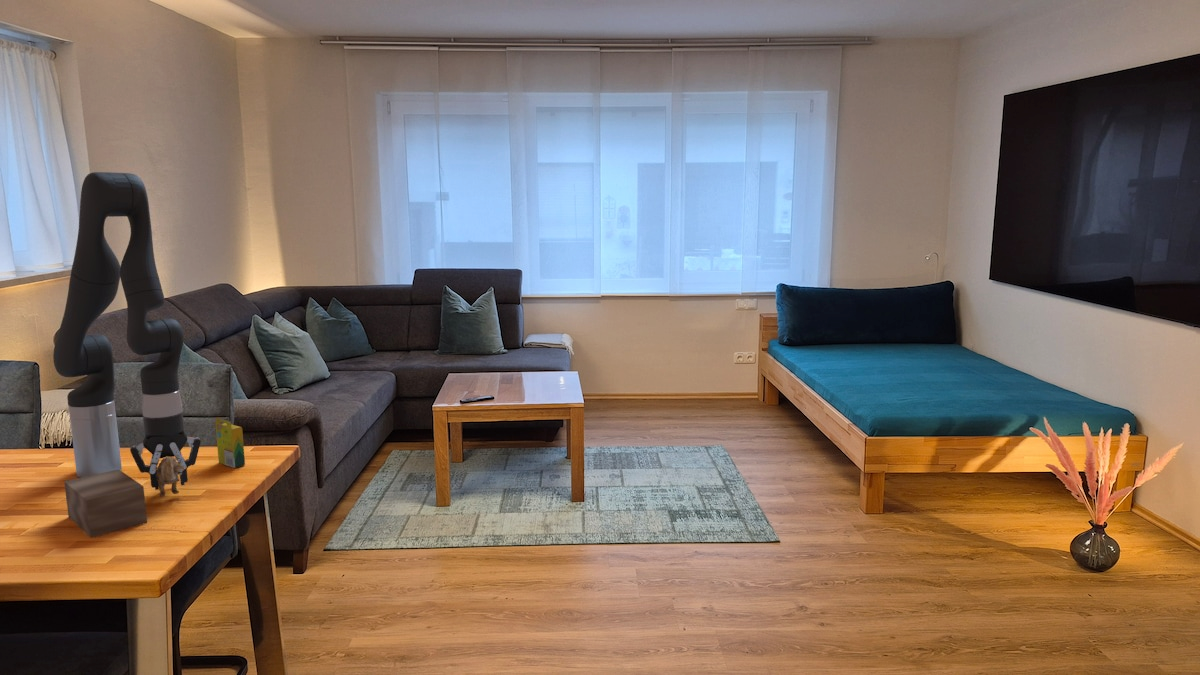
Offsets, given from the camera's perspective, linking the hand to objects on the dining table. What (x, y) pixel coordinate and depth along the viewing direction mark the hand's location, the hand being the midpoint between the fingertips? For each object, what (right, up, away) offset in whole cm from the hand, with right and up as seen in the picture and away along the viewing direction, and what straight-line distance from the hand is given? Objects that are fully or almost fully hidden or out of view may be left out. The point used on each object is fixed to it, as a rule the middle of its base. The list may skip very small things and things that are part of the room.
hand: (169, 486), depth 175 cm
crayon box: (+4, +1, +22) cm, 22 cm away
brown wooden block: (-6, -5, -12) cm, 14 cm away
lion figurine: (0, -1, +1) cm, 2 cm away
